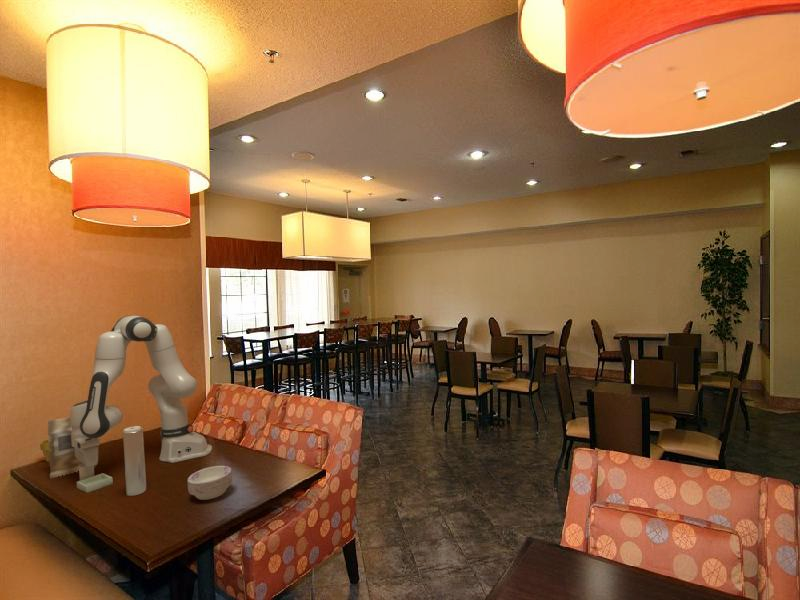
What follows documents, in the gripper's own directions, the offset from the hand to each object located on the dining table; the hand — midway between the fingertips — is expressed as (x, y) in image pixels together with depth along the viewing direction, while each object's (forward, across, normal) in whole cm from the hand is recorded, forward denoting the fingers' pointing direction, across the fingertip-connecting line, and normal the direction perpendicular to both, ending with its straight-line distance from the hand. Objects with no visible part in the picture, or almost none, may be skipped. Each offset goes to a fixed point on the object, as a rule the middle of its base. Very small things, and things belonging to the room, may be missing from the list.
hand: (86, 471), depth 176 cm
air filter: (+3, +33, +8) cm, 34 cm away
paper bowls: (+3, +60, +24) cm, 65 cm away
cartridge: (+3, 0, 0) cm, 3 cm away
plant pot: (+3, -42, -3) cm, 42 cm away
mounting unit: (+3, -18, -1) cm, 18 cm away
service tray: (+3, +12, 0) cm, 12 cm away
